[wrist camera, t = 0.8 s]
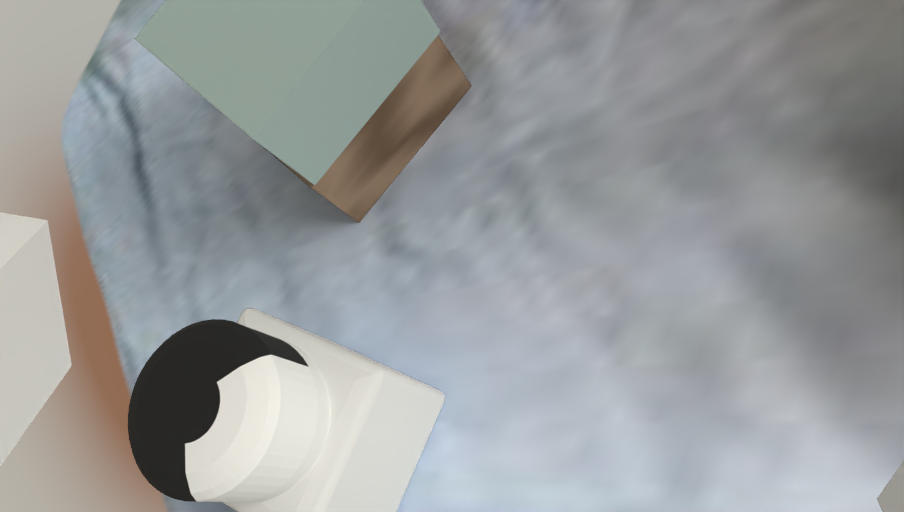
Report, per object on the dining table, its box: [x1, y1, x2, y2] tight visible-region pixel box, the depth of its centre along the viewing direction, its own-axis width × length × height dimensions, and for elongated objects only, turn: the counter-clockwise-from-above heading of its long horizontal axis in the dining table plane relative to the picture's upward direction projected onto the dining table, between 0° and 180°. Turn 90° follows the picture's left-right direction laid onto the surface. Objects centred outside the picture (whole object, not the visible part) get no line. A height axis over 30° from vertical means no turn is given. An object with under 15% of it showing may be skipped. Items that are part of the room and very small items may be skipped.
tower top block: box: [134, 0, 441, 185], centre depth 35 cm, size 9×9×5 cm
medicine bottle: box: [128, 308, 445, 512], centre depth 31 cm, size 7×7×12 cm
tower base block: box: [265, 35, 471, 223], centre depth 40 cm, size 9×9×5 cm
